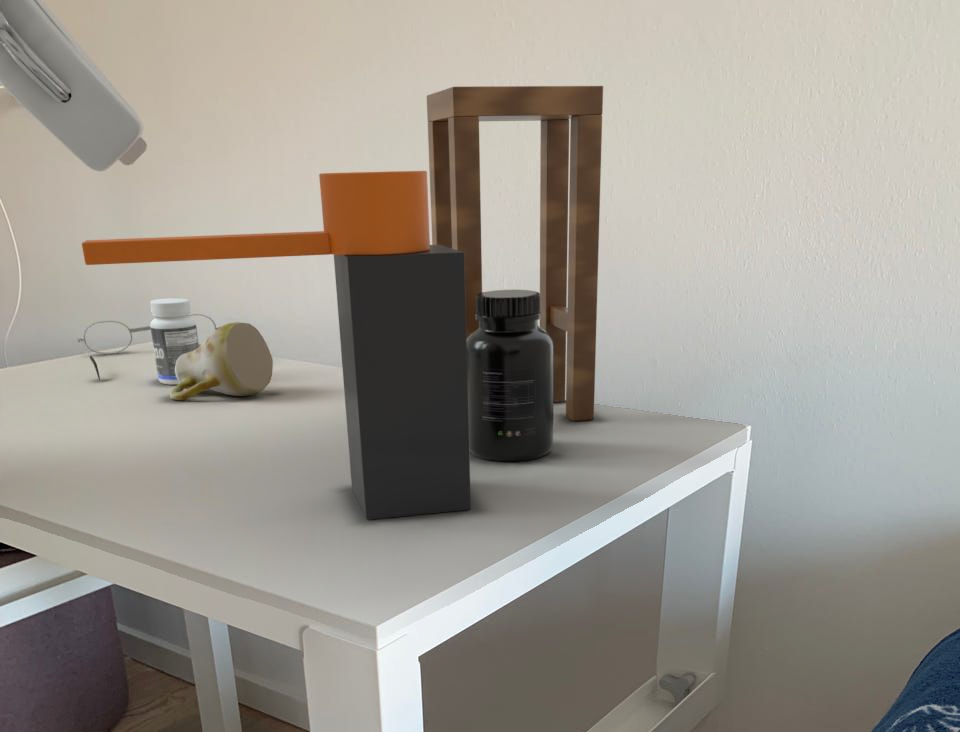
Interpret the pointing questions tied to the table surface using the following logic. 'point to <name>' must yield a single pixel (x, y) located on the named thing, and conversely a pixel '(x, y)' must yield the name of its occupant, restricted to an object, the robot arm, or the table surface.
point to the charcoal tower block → (405, 380)
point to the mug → (225, 363)
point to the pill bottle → (171, 335)
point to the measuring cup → (347, 231)
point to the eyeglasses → (129, 342)
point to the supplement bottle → (509, 378)
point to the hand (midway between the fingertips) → (91, 99)
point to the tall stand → (461, 211)
